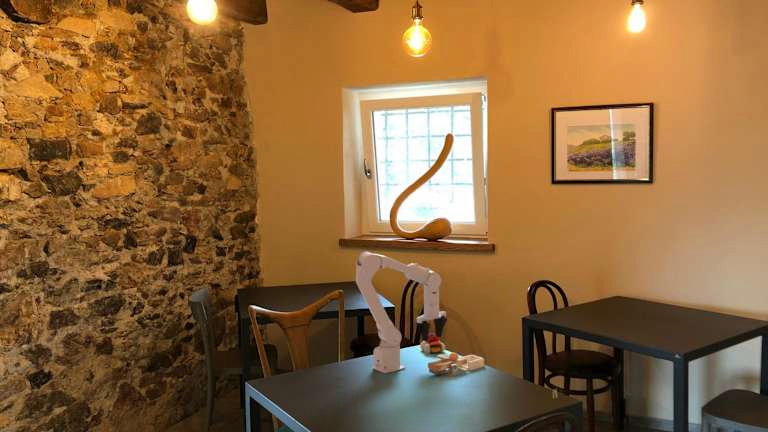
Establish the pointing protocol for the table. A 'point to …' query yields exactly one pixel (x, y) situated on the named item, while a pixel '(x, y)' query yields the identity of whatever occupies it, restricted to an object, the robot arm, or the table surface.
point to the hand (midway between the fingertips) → (432, 338)
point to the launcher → (444, 364)
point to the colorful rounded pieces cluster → (432, 344)
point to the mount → (452, 370)
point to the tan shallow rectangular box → (471, 363)
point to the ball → (453, 357)
